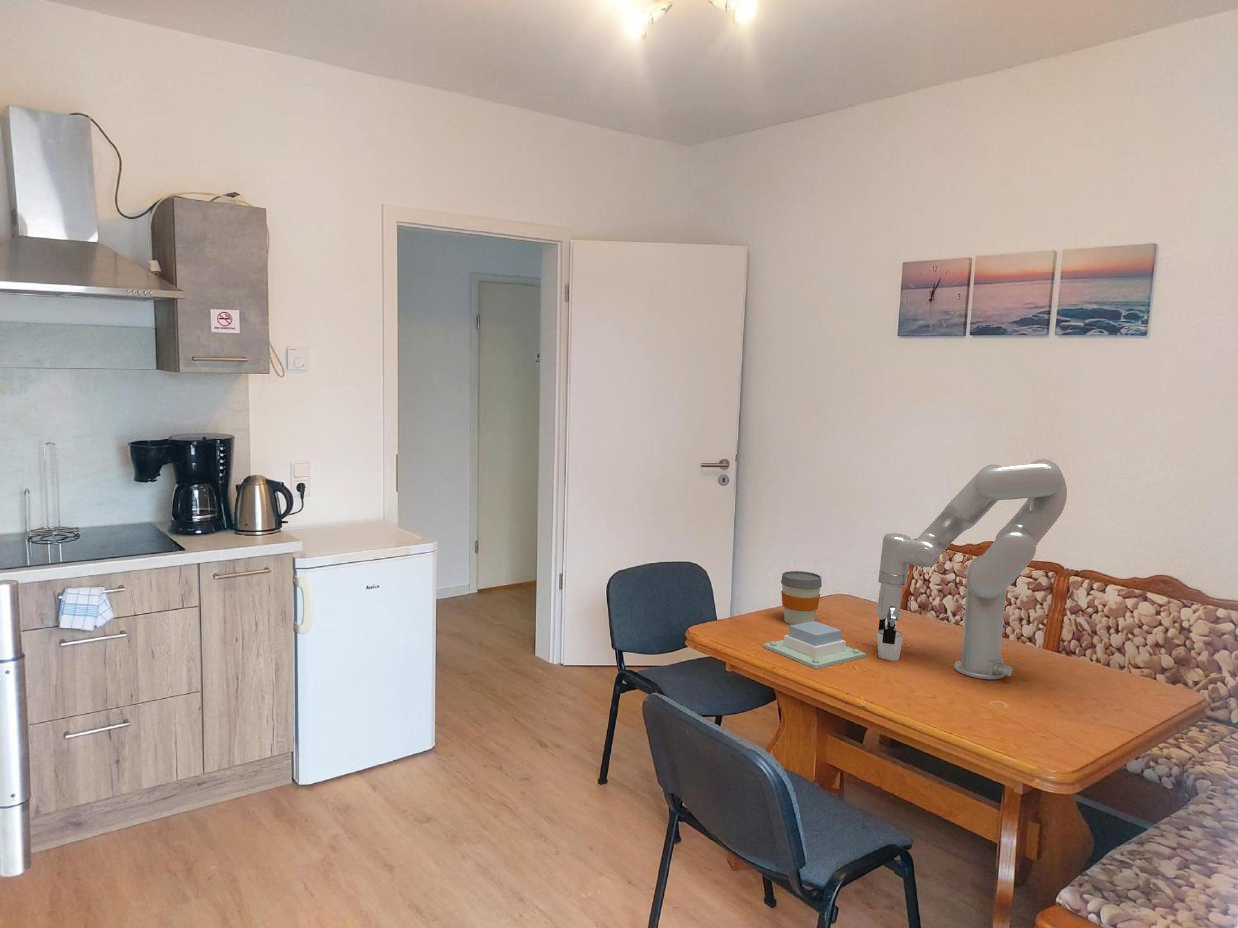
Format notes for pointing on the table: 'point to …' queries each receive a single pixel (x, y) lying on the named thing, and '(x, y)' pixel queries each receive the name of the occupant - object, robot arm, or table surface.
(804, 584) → the reusable coffee cup
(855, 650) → the stepped tiered stack
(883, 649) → the white tapered cup
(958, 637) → the table surface
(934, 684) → the table surface
